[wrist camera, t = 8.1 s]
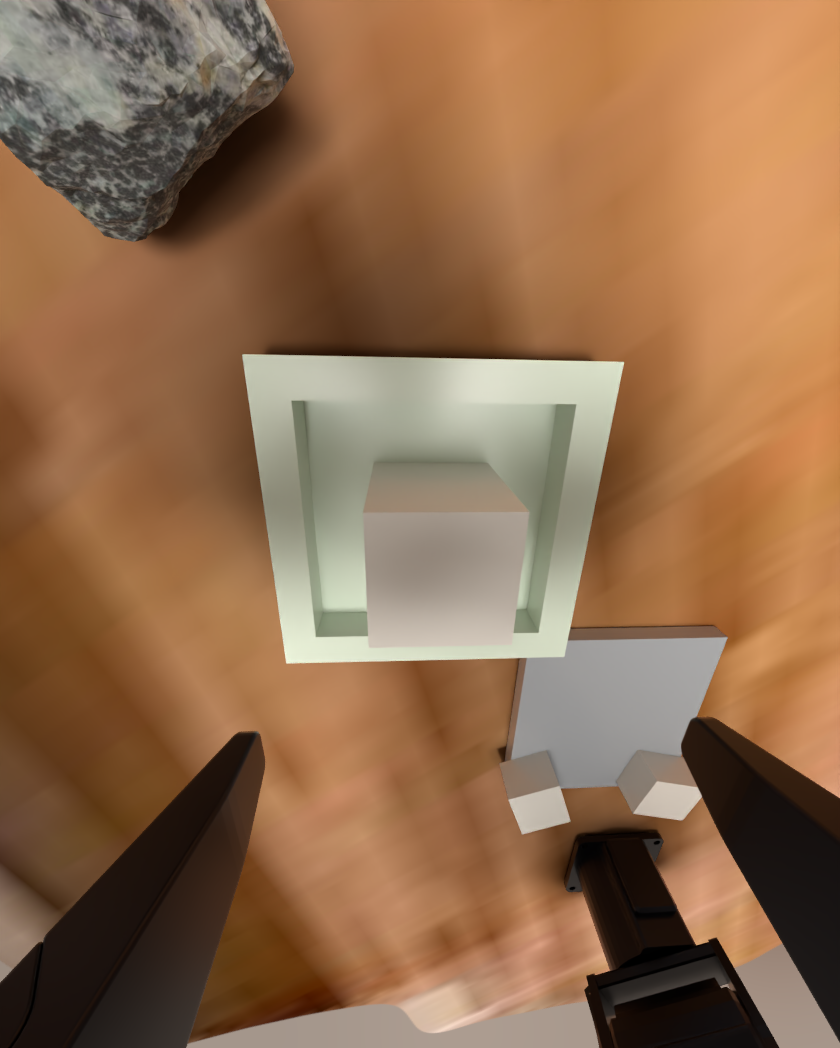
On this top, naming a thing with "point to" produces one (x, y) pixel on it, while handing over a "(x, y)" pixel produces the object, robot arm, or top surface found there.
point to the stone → (132, 96)
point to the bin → (422, 437)
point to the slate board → (608, 721)
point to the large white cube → (441, 555)
